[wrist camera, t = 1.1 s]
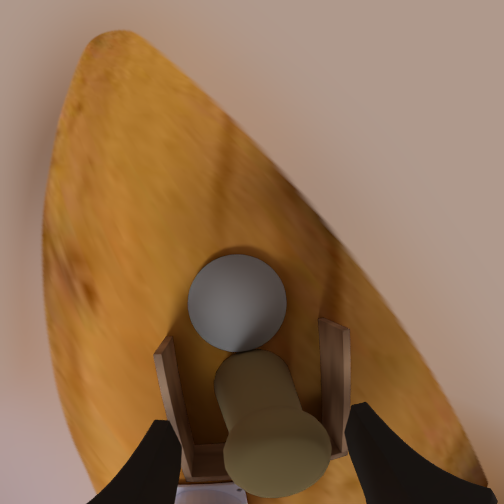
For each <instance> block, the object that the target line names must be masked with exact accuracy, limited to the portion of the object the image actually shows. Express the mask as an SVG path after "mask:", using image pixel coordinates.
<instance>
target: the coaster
mask: <svg viewBox="0 0 504 504" xmlns="http://www.w3.org/2000/svg"><path fill="white" fill-rule="evenodd" d="M286 305H287V303H286V293H285V289H284V286H283V284H282V282H281V280H280V278H279V276H278V275H277V274H276V272H275V271H274V270H273V269H272V268H271V267H270V266H269V265H267V264H266V263H265V262H263V261H261V260H259V259H257V258H254V257H252V256H247V255H240V254H237V255H227V256H223V257H220V258H218V259H216V260H213V261H212V262H210V263H209V264H207V265H206V266H205V267H204V268H203V269H202V270H201V271H200V272H199V273H198V274H197V276H196V277H195V279H194V281H193V283H192V285H191V288H190V291H189V295H188V311H189V316H190V319H191V322H192V324H193V326H194V328H195V329H196V331H197V332H198V334H199V335H200V336H201V337H202V338H203V339H204V340H205V341H206V342H208V343H209V344H211V345H212V346H214V347H217V348H219V349H222V350H225V351H230V352H244V351H249V350H252V349H255V348H257V347H260V346H261V345H263V344H265V343H266V342H267V341H269V340H270V339H271V338H272V337H273V336H274V335H275V334H276V332H277V331H278V330H279V328H280V326H281V324H282V322H283V320H284V317H285V313H286Z"/></svg>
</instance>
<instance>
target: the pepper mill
mask: <svg viewBox="0 0 504 504" xmlns="http://www.w3.org/2000/svg"><path fill="white" fill-rule="evenodd" d="M214 390H215V395H216V398H217V401H218V403H219V406H220V409H221V412H222V415H223V418H224V420H225V423H226V426H227V429H228V431H229V435H228V437H227V440H226V443H225V446H224V449H223V454H224V464H225V469H226V471H227V473H228V474H229V476H230V477H231V479H232V480H233V482H234V483H235V484H236V485H237V486H239V487H240V488H242V489H243V490H245V491H246V492H248V493H250V494H252V495H256V496H259V497H265V498H279V497H285V496H290V495H293V494H296V493H299V492H301V491H303V490H305V489H307V488H308V487H310V486H312V485H313V484H315V483H316V482H317V481H318V480H319V479H320V478H321V477H322V476H323V474H324V472H325V471H326V469H327V467H328V465H329V462H330V459H331V451H332V447H331V442H330V439H329V436H328V433H327V431H326V429H325V428H324V427H323V425H322V424H321V423H320V422H319V421H318V420H317V419H316V418H315V417H314V416H312V415H310V414H308V413H306V412H304V411H303V410H302V407H301V404H300V401H299V398H298V395H297V392H296V389H295V386H294V383H293V380H292V377H291V374H290V372H289V369H288V366H287V365H286V364H285V362H284V361H283V360H282V359H281V358H280V357H279V356H277V355H275V354H274V353H272V352H270V351H266V350H261V349H252V350H249V351H244V352H238V353H235V354H233V355H231V356H230V357H229V358H228V359H226V360H225V361H224V362H223V363H222V364H221V366H220V367H219V369H218V370H217V372H216V376H215V379H214Z"/></svg>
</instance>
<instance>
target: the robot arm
mask: <svg viewBox="0 0 504 504" xmlns="http://www.w3.org/2000/svg"><path fill="white" fill-rule="evenodd" d="M344 434H345V438H346V443H347V447H348V451H349V454H350V457H351V460H352V463H353V465H354V468H355V471H356V473H357V476H358V478H359V481H360V484H361V486H362V489H363V492H364V495H365V498H366V503H367V504H497V502H498V501H497V499H496V497H495V495H494V493H493V491H492V490H491V489H490V488H487V487H483V486H479V485H476V484H473V483H470V482H468V481H465V480H463V479H460V478H458V477H456V476H454V475H452V474H450V473H448V472H446V471H444V470H442V469H440V468H439V467H437V466H436V465H434V464H432V463H431V462H429V461H428V460H426V459H425V458H424V457H422V456H421V455H420V454H418V453H417V452H416V451H414V450H413V449H412V448H411V447H410V446H408V445H407V444H406V443H405V442H404V441H403V440H402V439H401V438H400V437H399V436H398V435H396V434H395V433H394V432H393V431H392V430H391V429H390V428H389V427H388V426H387V425H386V423H385V422H384V421H383V420H382V419H381V418H380V417H379V416H378V415H377V414H376V413H375V411H374V410H373V409H372V408H371V407H370V406H369V405H368V403H366V402H363V403H359V404H355V405H351V409H350V413H349V417H348V421H347V424H346V428H345V431H344ZM181 458H182V445H181V443H180V441H179V439H178V437H177V435H176V433H175V431H174V429H173V427H172V425H171V423H170V421H168V420H155V421H154V422H153V423H152V425H151V427H150V428H149V430H148V431H147V433H146V435H145V436H144V438H143V439H142V441H141V442H140V444H139V446H138V447H137V448H136V450H135V451H134V453H133V454H132V456H131V457H130V458H129V460H128V461H127V462H126V464H125V465H124V466H123V468H122V469H121V470H120V471H119V472H118V474H117V475H116V476H115V477H114V478H113V479H112V481H111V482H110V483H109V484H108V485H107V486H106V487H105V488H104V489H103V490H102V491H101V492H100V493H99V494H97V495H96V496H95V497H94V498H93V499H92V500H91V501H89V502H88V503H87V504H248V503H247V498H246V493H245V490H243V489H242V488H240V487H239V486H237V485H236V484H235V483H234V482H229V483H217V484H196V485H178V481H179V476H180V470H181Z"/></svg>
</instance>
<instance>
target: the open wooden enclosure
mask: <svg viewBox="0 0 504 504" xmlns="http://www.w3.org/2000/svg"><path fill="white" fill-rule="evenodd" d="M318 325H319V341H320V361H321V389H322V425H323V427H324V428H325V429H326V431H327V433H328V436H329V439H330V442H331V447H332V451H331V459H330V460H333V459H337V458H340V457H343V456H346V455H347V454H348V447H347V443H346V438H345V434H344V431H345V428H346V424H347V421H348V417H349V413H350V391H351V359H350V329H348V328H346V327H344V326H341V325H339V324H337V323H335V322H332V321H330V320H328V319H326V318H320V319H318ZM153 356H154V361H155V366H156V371H157V376H158V381H159V386H160V390H161V395H162V399H163V403H164V407H165V411H166V415H167V419H168V421H170V423H171V425H172V427H173V429H174V431H175V433H176V435H177V437H178V439H179V441H180V443H181V445H182V458H181V467H182V470H183V473H184V476H185V479H186V482H199V481H218V480H230V479H231V477H230V476H229V474H228V473H227V471H226V469H225V464H224V454H223V449H224V446H225V443H218V444H204V445H194V441H193V437H192V433H191V429H190V425H189V420H188V416H187V412H186V407H185V402H184V398H183V393H182V388H181V383H180V377H179V372H178V367H177V361H176V355H175V349H174V343H173V336H170V337H165V339H164V340H163V342H162V343H161V344H160V346H159V347H158V349H157V350H156V351H155V353H154V354H153Z"/></svg>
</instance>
